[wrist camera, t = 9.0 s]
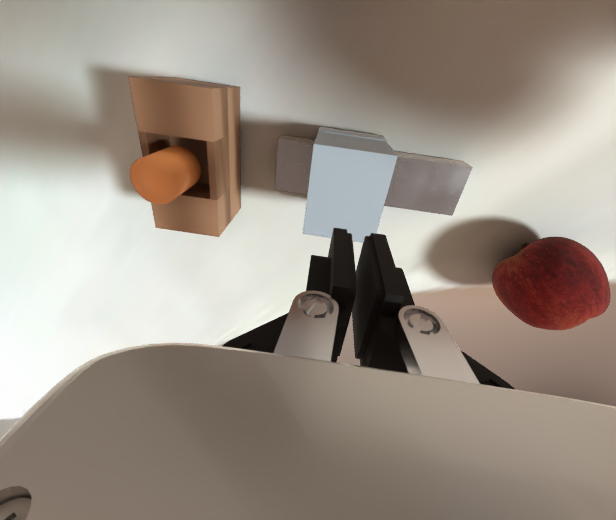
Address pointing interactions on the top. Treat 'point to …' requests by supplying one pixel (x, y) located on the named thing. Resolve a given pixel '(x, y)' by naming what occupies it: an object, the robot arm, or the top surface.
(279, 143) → the rail
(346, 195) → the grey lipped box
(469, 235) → the top surface
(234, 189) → the tan slotted block
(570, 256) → the apple
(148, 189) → the peg
